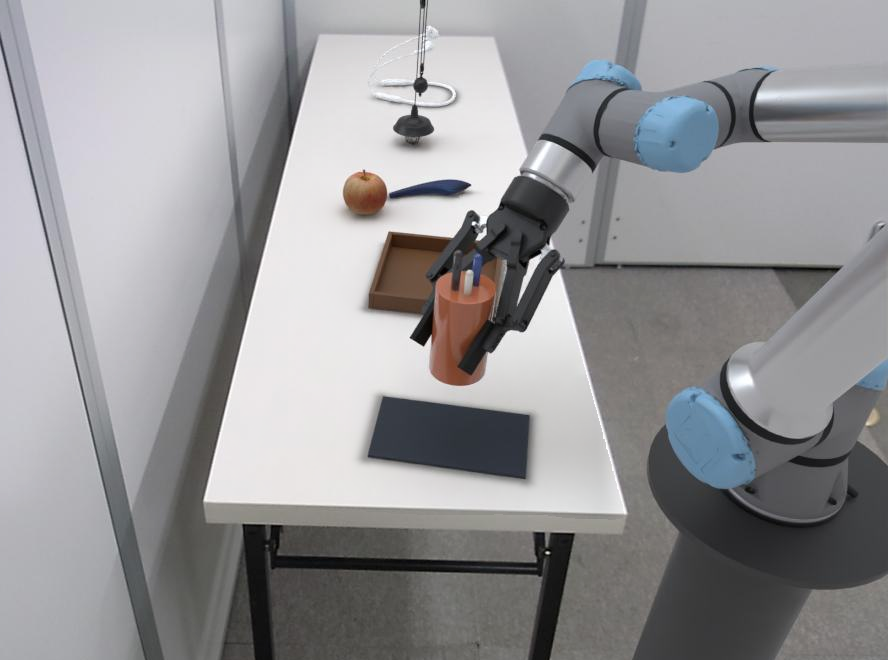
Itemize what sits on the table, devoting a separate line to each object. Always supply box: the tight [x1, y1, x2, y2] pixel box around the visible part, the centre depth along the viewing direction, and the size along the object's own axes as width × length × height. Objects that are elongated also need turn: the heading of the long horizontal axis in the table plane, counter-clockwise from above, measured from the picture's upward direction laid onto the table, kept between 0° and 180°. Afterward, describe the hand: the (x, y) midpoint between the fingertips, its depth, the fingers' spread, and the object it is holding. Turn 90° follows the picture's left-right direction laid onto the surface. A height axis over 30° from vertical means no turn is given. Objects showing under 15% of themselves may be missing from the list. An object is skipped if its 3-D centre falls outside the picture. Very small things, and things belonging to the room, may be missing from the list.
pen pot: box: [428, 250, 496, 387], centre depth 106 cm, size 7×7×17 cm
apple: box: [342, 169, 388, 216], centre depth 162 cm, size 8×8×8 cm
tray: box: [367, 231, 503, 323], centre depth 146 cm, size 20×20×3 cm
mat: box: [367, 395, 530, 480], centre depth 118 cm, size 20×12×1 cm, turn 79°
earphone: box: [367, 25, 457, 107], centre depth 205 cm, size 14×17×18 cm
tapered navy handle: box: [388, 178, 472, 199], centre depth 169 cm, size 16×4×2 cm, turn 99°
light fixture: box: [392, 0, 435, 146], centre depth 176 cm, size 10×8×31 cm
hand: (440, 356), depth 108 cm, fingers closed on pen pot, 7 cm apart
